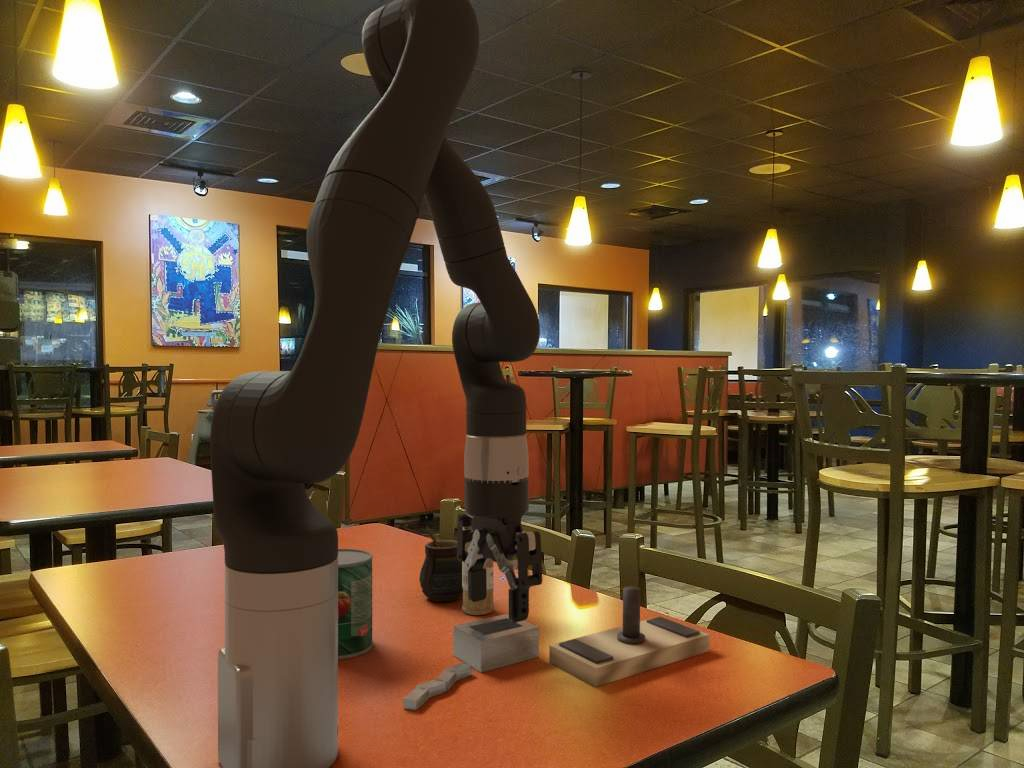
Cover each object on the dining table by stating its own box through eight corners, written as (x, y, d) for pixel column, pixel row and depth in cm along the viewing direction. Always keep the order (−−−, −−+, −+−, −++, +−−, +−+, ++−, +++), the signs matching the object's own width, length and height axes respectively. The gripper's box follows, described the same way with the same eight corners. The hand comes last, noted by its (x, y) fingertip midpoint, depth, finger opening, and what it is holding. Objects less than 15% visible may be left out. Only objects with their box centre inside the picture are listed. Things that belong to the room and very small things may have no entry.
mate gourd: (448, 608, 104) (447, 537, 104) (407, 600, 109) (406, 531, 108) (478, 595, 110) (478, 528, 110) (439, 587, 115) (438, 523, 114)
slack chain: (414, 711, 73) (414, 701, 73) (396, 706, 74) (396, 696, 74) (475, 674, 82) (475, 665, 82) (459, 669, 83) (459, 660, 83)
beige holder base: (595, 687, 79) (596, 611, 79) (549, 662, 85) (549, 593, 85) (709, 651, 89) (710, 584, 89) (660, 631, 96) (660, 569, 96)
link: (480, 672, 83) (481, 641, 82) (453, 655, 87) (453, 625, 87) (538, 656, 87) (538, 627, 87) (509, 641, 92) (509, 613, 92)
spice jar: (500, 612, 103) (500, 515, 103) (471, 618, 100) (472, 518, 100) (483, 603, 107) (483, 510, 106) (455, 609, 104) (455, 513, 104)
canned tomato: (378, 635, 94) (379, 548, 93) (364, 660, 86) (365, 565, 86) (316, 634, 94) (316, 547, 94) (296, 659, 86) (296, 564, 86)
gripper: (438, 468, 91) (439, 600, 91) (505, 484, 79) (505, 635, 80) (489, 463, 95) (490, 588, 96) (560, 477, 83) (560, 620, 84)
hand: (497, 610), depth 88 cm, fingers open, 8 cm apart
